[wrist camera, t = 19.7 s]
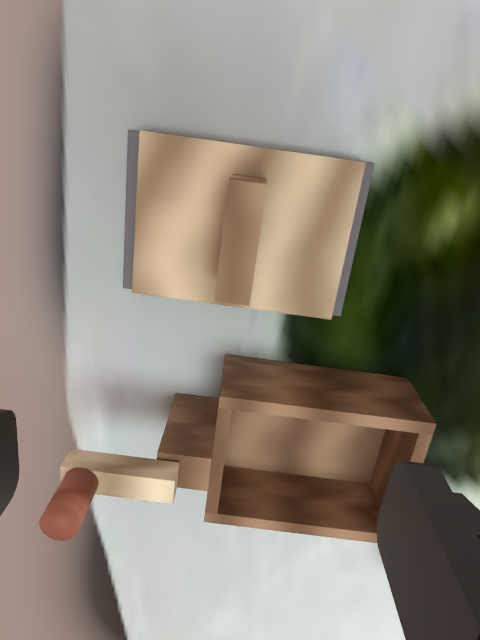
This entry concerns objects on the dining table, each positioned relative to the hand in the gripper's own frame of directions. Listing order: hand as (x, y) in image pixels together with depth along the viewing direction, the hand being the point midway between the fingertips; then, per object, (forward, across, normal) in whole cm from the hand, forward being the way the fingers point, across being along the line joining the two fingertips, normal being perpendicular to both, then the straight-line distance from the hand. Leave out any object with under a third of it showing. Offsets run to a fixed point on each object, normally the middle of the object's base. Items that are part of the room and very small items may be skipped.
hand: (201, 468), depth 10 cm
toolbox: (+28, -6, +17) cm, 33 cm away
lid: (+28, 0, 0) cm, 28 cm away
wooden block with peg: (+20, +6, +17) cm, 27 cm away
